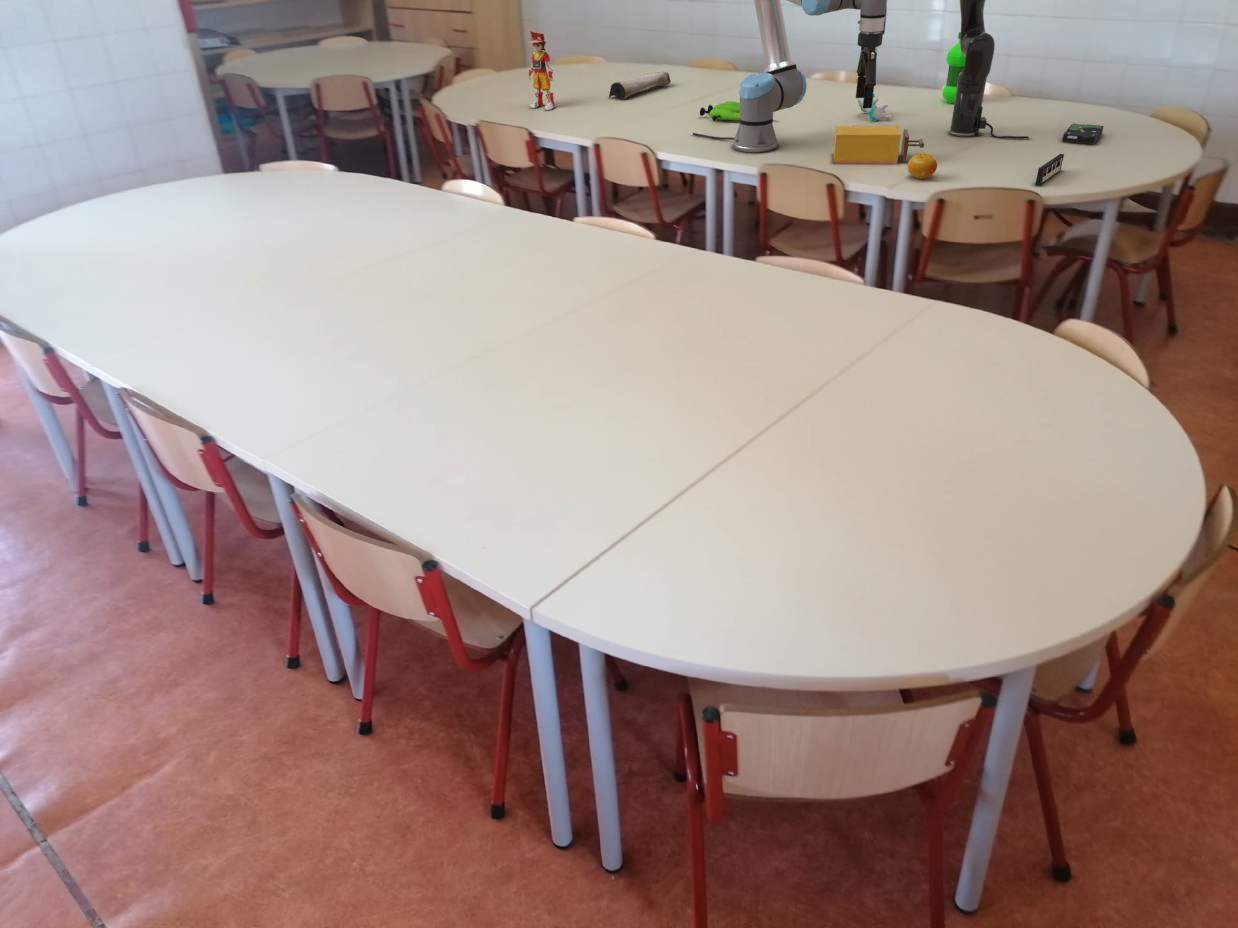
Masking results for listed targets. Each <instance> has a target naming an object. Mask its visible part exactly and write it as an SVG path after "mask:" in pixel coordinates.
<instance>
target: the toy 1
mask: <svg viewBox="0 0 1238 928" xmlns="http://www.w3.org/2000/svg"><path fill="white" fill-rule="evenodd" d="M529 33H530V35H531V36H528V37H527V38H528V39H529V40H528V41H527V43H529V44H530V43H531V44H532V48H533V50H534V51H533V52H532V55H531V58H530V59H531V63H530V66H528V74H527V75H528V76H527V77H528V79H529V80H531V75H532V74H533V84H532V85H533V86H532V87H533V88H534V89H535V90H536V92H534V95H535V97H536V100H535V101H533V102H531V105H530V108H531V109H535V108H538V107H542V106H544V101H543V100H544V99H543V95H544V92H546V94H545V97H546V99H547V103H546V104H545V106H544V110H546V111H549V110H553V109H554V107H555V106H556V105H555V99H554V92H551V91H550V90H551V86H552V84H551V82H552V81H553V80H554V77H553V73H554V71H555V70H554V69H552V68H551V63H550V61H551V59H550V58H551V57H550V54H549V53H548V52H547V50H546V48H545V46H546V44H547V41H545V35H544V33H543V32H542V33H539V32H535V31H529Z"/></svg>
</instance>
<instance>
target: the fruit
mask: <svg viewBox="0 0 1238 928" xmlns="http://www.w3.org/2000/svg"><path fill="white" fill-rule="evenodd" d="M937 168H938V162H937V159H936V158H935V157H934V156H933V155H932V154H930V153H927V152H925V153H924V152H921V153H917V154H915V155H913V156H912V157H911V158H910V159H909V161H908V164H907V171H908V174H909V175H910V176H911V177H913V178H916V179H928V178H930V177H932V176H933V175H934V174H935V173H936V171H937Z"/></svg>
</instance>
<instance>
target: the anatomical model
mask: <svg viewBox="0 0 1238 928" xmlns="http://www.w3.org/2000/svg"><path fill="white" fill-rule="evenodd" d="M875 98H876V95H875V93H874V92H873V100H872V108H863V100H864V98H857V102H858V104H859V107H860V110H861V112H863V113H867V114H868V116H869V118H870V119H871V121H873V122H876V121H877V122H878V121H879V120H890V119H891V118H892V115H891V114H887V113H885V111H886V109H887V108H888V104H885V105H882V106H877V105H876V104H877V103H878V101H879V98H876V99H875Z"/></svg>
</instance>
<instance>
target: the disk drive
mask: <svg viewBox="0 0 1238 928" xmlns="http://www.w3.org/2000/svg"><path fill="white" fill-rule="evenodd" d="M1104 127H1105V126H1104V125H1100V124H1099V125H1097V124H1081V123H1071V124H1070V126H1069V127H1068V128H1067V129H1066V130H1065V131H1064V133H1063V136H1062V139H1061V140H1062V141H1063V142H1068V143H1077V144H1090V145H1094V144H1096V143H1097V141H1098V140H1099V138H1100V136H1101V135H1102V134H1103V131H1104Z"/></svg>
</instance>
